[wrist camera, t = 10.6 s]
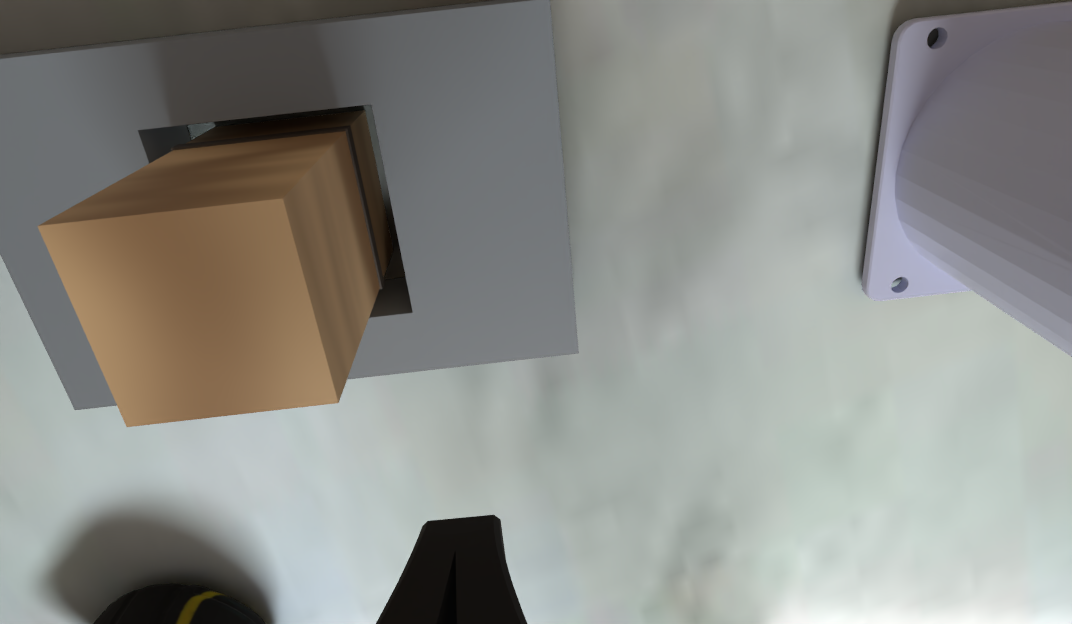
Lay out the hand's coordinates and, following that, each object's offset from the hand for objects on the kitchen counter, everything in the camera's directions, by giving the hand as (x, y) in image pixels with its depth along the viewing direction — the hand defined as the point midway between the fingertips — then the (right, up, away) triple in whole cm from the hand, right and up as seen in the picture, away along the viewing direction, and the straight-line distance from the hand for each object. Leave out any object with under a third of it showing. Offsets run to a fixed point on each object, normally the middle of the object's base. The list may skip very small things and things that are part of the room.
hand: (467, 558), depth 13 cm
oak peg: (-5, +8, +6) cm, 11 cm away
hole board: (-5, +8, +7) cm, 11 cm away
